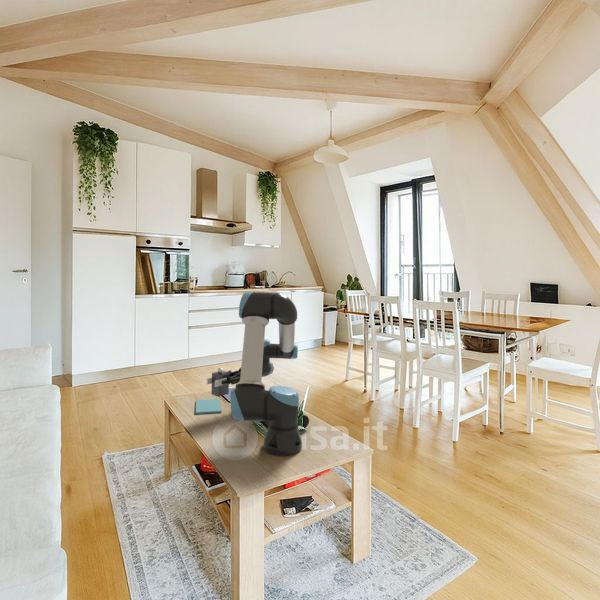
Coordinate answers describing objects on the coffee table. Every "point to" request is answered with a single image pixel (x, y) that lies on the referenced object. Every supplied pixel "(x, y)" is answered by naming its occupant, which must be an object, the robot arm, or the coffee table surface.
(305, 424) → the end cap
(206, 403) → the teal cloth
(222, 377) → the lock block
